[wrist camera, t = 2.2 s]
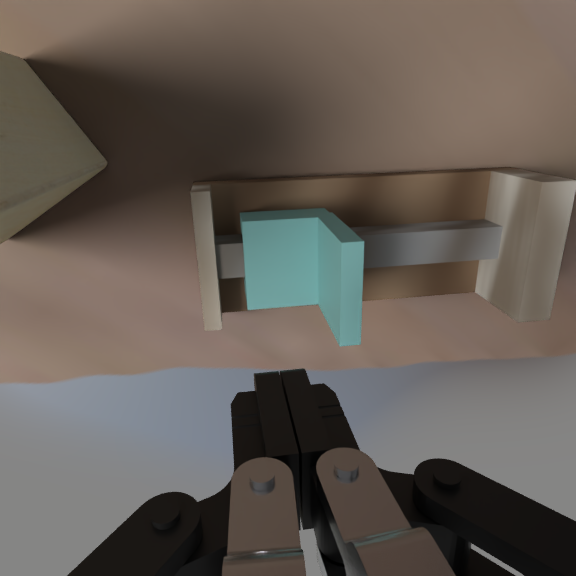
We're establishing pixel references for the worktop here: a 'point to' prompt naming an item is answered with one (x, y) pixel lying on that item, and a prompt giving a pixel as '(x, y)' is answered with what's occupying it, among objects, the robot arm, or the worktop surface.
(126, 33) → the worktop surface
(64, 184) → the toy refrigerator
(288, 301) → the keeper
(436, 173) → the track
